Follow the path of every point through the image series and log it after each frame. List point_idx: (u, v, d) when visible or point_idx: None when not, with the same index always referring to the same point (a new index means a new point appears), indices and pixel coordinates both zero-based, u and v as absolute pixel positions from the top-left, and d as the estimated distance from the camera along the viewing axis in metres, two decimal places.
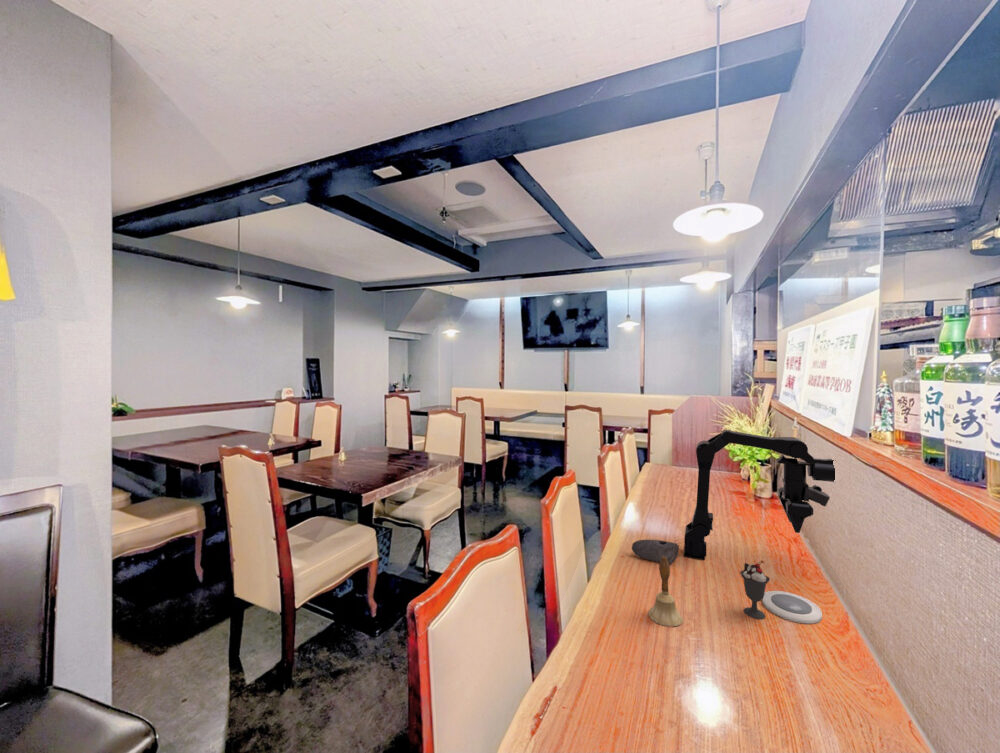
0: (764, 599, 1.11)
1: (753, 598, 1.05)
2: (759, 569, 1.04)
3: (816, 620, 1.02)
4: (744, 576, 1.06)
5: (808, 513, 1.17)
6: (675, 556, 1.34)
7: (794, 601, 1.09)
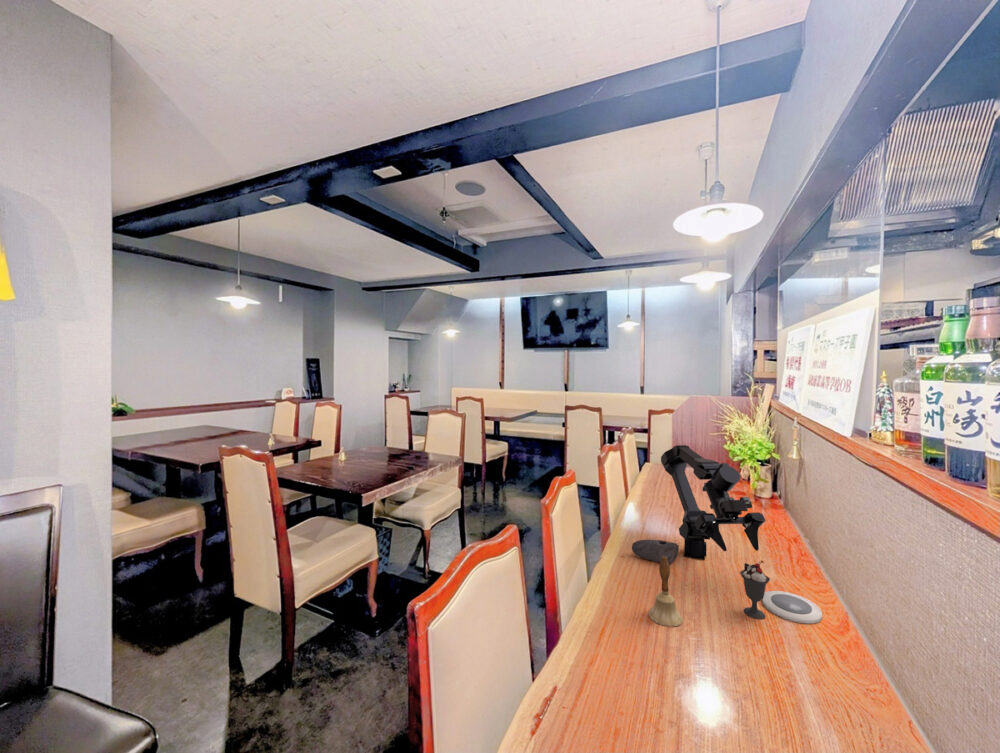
0: (764, 599, 1.11)
1: (753, 598, 1.05)
2: (759, 569, 1.04)
3: (816, 620, 1.02)
4: (744, 576, 1.06)
5: (701, 521, 1.17)
6: (675, 556, 1.34)
7: (794, 601, 1.09)
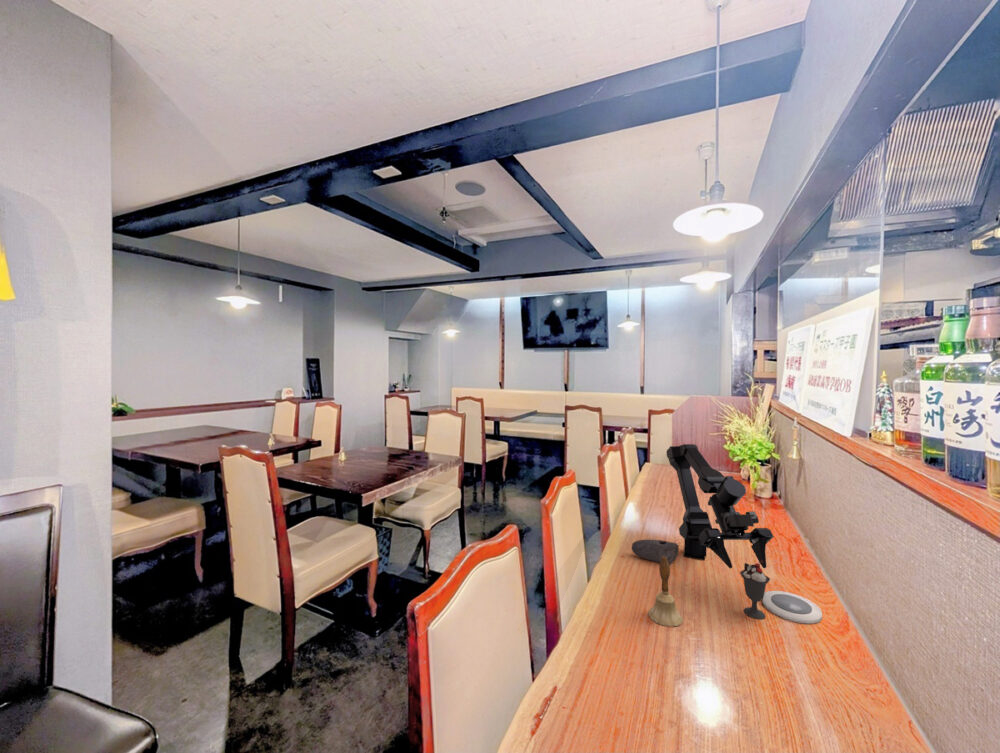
0: (764, 599, 1.11)
1: (753, 598, 1.05)
2: (759, 569, 1.04)
3: (816, 620, 1.02)
4: (744, 576, 1.06)
5: (706, 536, 1.13)
6: (675, 556, 1.34)
7: (794, 601, 1.09)
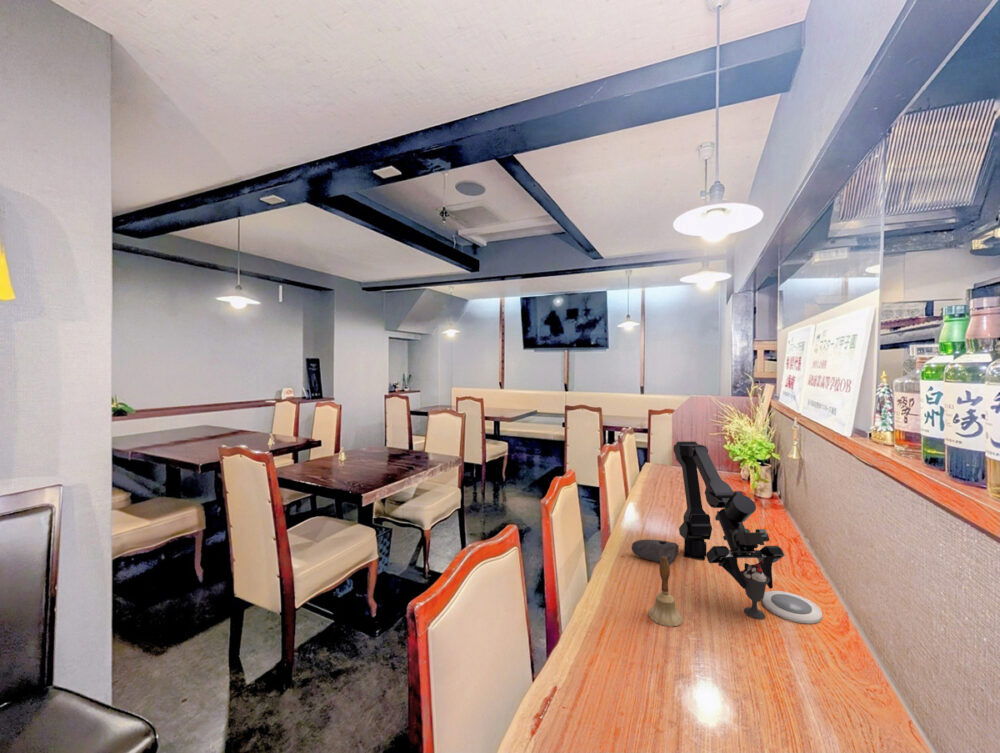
0: (764, 599, 1.11)
1: (753, 598, 1.05)
2: (759, 569, 1.04)
3: (816, 620, 1.02)
4: (744, 576, 1.06)
5: (714, 555, 1.09)
6: (675, 556, 1.34)
7: (794, 601, 1.09)
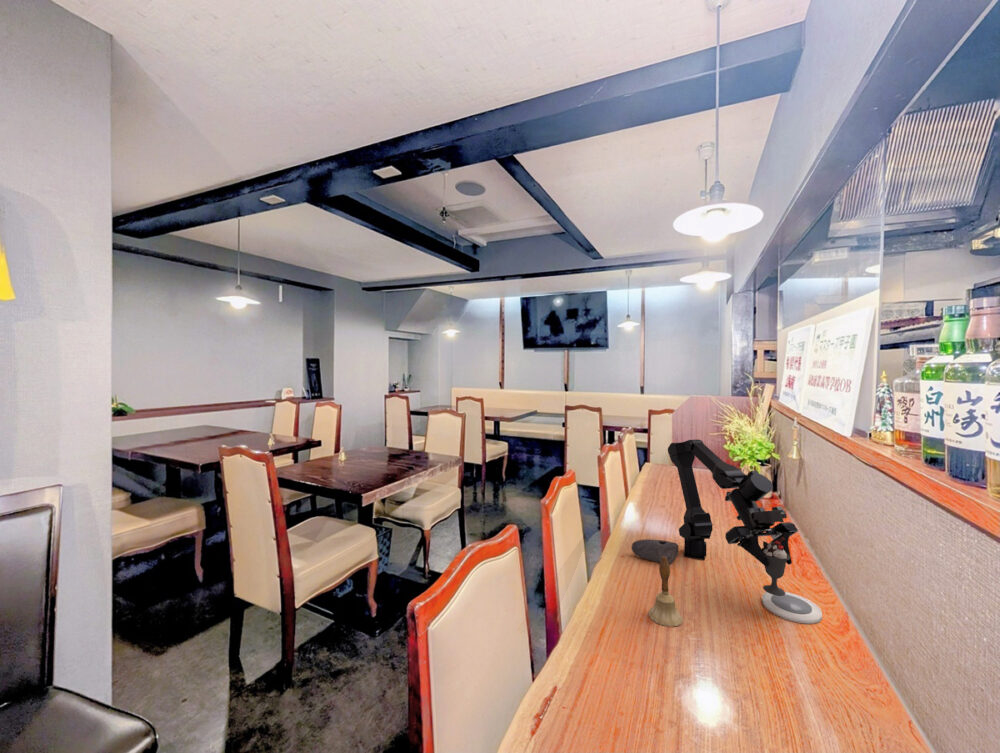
0: (764, 599, 1.11)
1: (775, 575, 1.05)
2: (780, 546, 1.05)
3: (816, 620, 1.02)
4: (766, 554, 1.06)
5: (736, 535, 1.08)
6: (675, 556, 1.34)
7: (794, 601, 1.09)
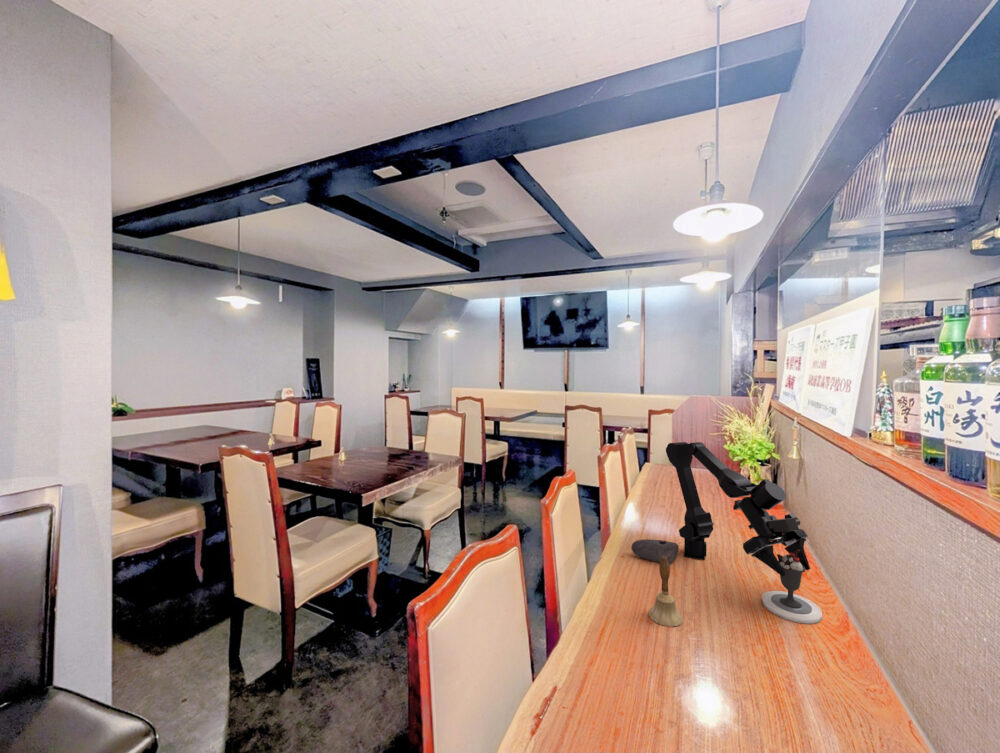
0: (764, 599, 1.11)
1: (792, 588, 1.07)
2: (797, 558, 1.07)
3: (816, 620, 1.02)
4: (783, 567, 1.08)
5: (756, 546, 1.08)
6: (675, 556, 1.34)
7: None
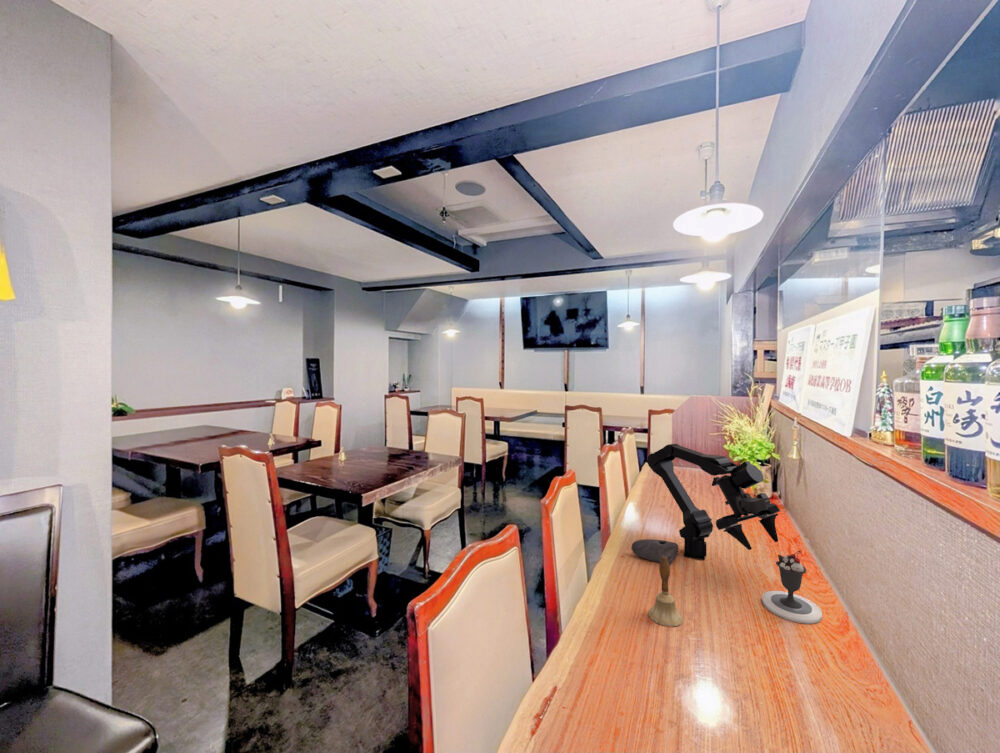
0: (764, 599, 1.11)
1: (793, 589, 1.07)
2: (797, 559, 1.07)
3: (816, 620, 1.02)
4: (783, 568, 1.07)
5: (725, 525, 1.19)
6: (675, 556, 1.34)
7: None
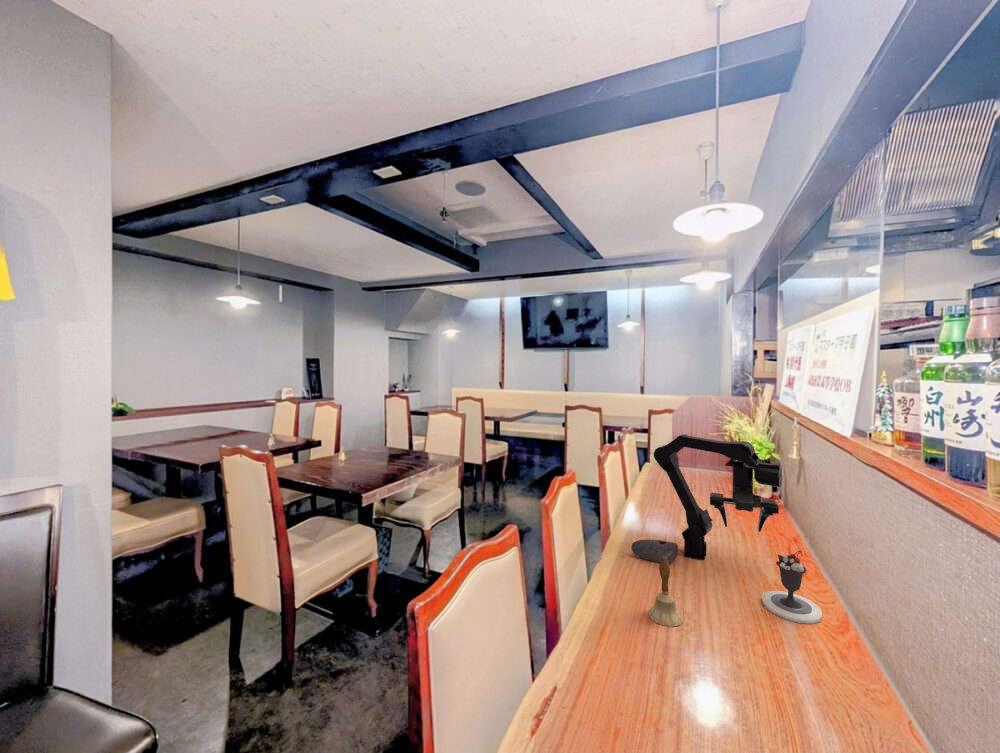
0: (764, 599, 1.11)
1: (793, 589, 1.07)
2: (798, 559, 1.07)
3: (816, 620, 1.02)
4: (784, 568, 1.07)
5: (710, 502, 1.32)
6: (675, 556, 1.34)
7: None
